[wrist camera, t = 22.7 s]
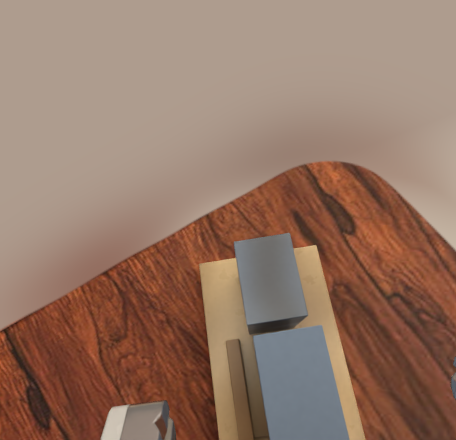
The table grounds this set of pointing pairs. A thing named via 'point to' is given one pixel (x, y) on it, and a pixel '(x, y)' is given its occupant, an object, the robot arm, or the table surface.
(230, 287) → the pad board
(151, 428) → the robot arm
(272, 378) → the loose pad
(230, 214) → the table surface
